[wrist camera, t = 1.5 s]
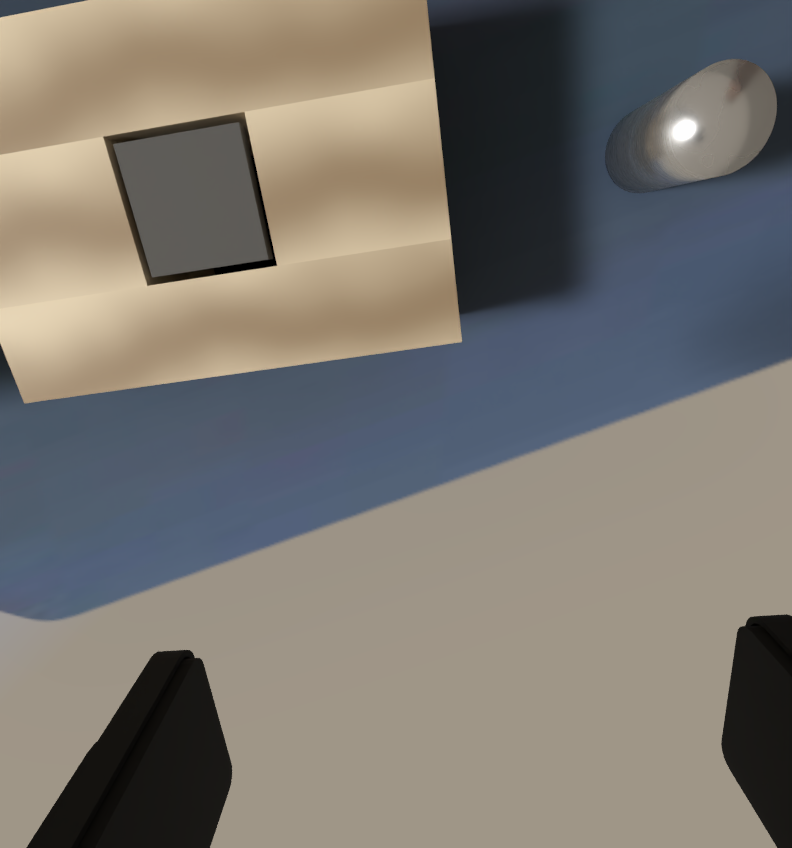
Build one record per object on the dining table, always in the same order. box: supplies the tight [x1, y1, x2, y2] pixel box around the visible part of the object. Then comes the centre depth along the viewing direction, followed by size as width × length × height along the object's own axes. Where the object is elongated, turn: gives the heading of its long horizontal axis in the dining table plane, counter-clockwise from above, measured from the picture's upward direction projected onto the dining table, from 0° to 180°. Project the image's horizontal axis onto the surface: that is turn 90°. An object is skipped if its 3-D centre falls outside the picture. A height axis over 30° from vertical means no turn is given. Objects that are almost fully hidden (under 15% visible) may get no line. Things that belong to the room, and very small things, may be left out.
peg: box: [605, 59, 777, 193], centre depth 23 cm, size 4×4×7 cm
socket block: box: [0, 0, 462, 403], centre depth 24 cm, size 14×20×8 cm
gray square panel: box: [113, 122, 273, 277], centre depth 21 cm, size 5×5×1 cm
